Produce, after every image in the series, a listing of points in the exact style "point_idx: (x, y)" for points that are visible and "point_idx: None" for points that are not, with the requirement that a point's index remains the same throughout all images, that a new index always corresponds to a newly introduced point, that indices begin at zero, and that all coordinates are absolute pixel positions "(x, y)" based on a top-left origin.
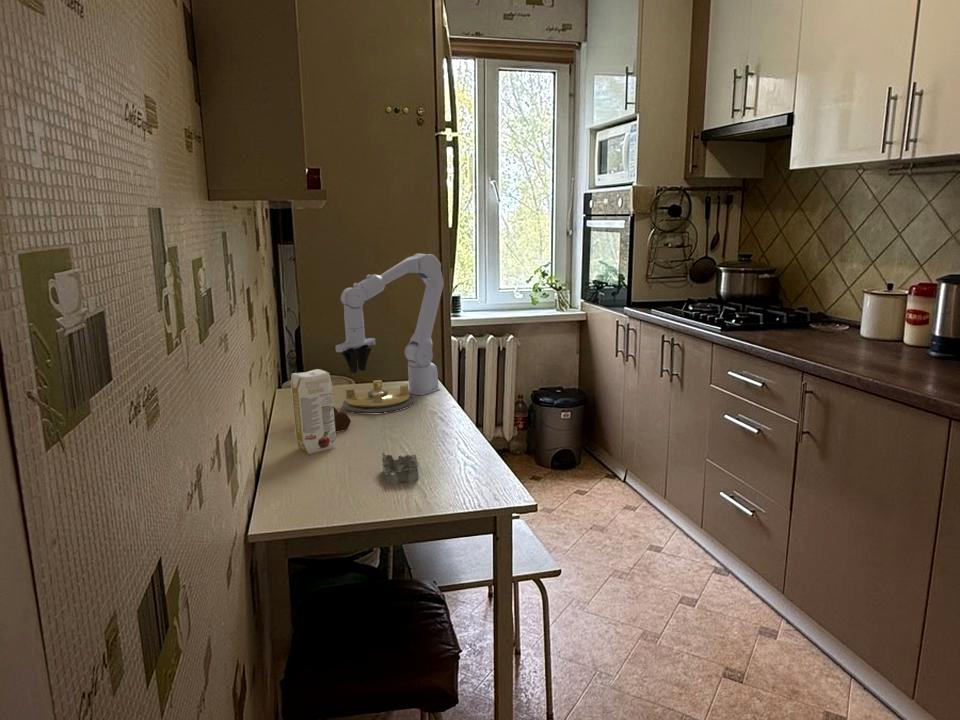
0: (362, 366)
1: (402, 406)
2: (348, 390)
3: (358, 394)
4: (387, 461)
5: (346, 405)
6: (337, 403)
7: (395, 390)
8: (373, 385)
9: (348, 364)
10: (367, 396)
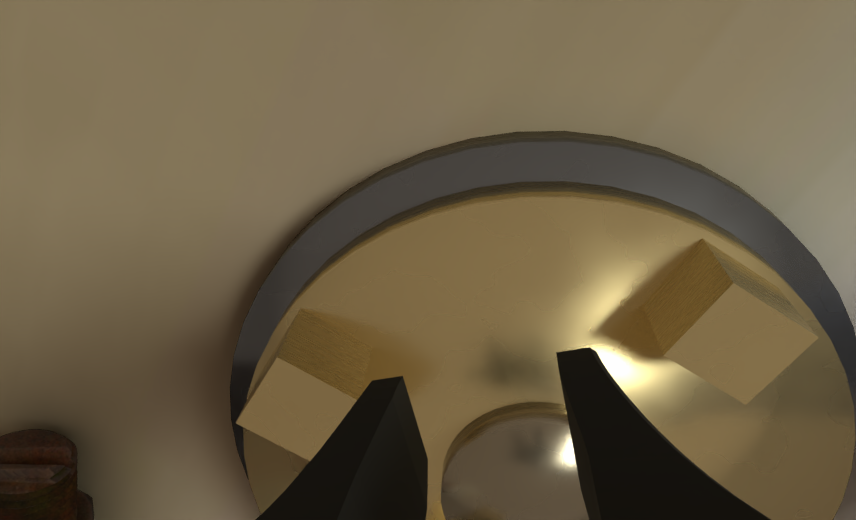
0: (578, 476)
1: None
2: (259, 433)
3: (421, 333)
4: None
5: (251, 375)
6: (279, 120)
7: (763, 467)
8: (655, 332)
9: (314, 467)
10: (442, 448)
